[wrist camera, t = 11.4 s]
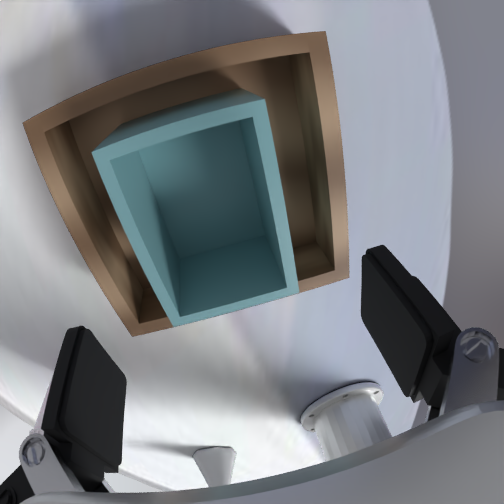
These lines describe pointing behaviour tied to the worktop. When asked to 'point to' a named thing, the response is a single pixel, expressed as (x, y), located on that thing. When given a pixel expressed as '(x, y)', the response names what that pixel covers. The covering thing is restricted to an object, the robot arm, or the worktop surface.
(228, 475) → the flask
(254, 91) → the big crate
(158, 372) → the worktop surface
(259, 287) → the small crate
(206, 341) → the worktop surface
